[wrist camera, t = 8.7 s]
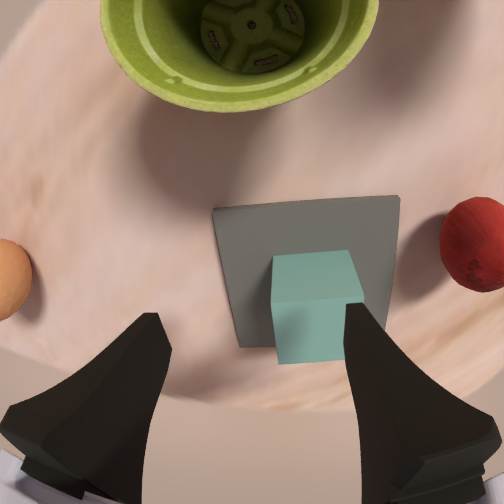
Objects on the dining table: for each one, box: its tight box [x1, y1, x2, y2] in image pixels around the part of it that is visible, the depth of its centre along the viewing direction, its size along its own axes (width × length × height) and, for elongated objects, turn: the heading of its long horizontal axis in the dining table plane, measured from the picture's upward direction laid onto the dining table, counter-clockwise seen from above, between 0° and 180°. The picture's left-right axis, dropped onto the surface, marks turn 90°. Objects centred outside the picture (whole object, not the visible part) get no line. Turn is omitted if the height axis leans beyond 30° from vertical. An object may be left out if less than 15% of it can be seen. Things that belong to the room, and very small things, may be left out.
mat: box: [212, 195, 400, 348], centre depth 22 cm, size 12×12×1 cm
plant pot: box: [100, 0, 379, 113], centre depth 11 cm, size 9×9×9 cm
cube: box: [271, 250, 364, 364], centre depth 19 cm, size 5×5×5 cm
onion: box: [439, 197, 504, 292], centre depth 15 cm, size 6×6×8 cm
